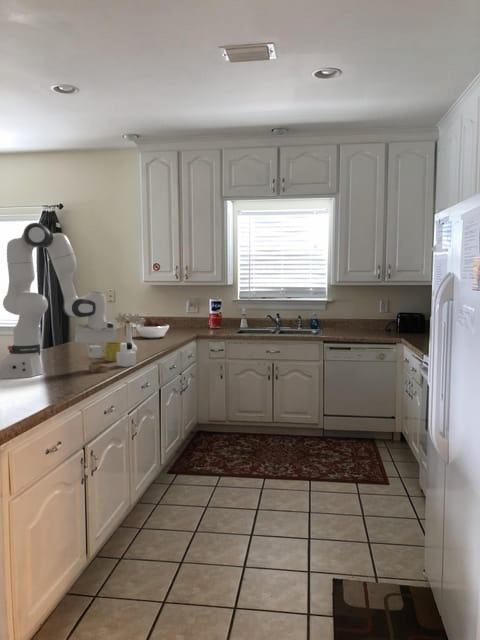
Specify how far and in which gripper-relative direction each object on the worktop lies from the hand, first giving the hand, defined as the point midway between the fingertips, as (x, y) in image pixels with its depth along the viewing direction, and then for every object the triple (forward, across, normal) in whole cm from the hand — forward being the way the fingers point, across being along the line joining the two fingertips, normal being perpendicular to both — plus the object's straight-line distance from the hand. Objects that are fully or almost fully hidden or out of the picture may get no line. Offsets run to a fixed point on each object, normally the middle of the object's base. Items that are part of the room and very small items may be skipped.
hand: (95, 351), depth 255 cm
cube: (+2, 0, +1) cm, 3 cm away
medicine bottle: (+8, +17, +3) cm, 19 cm away
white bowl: (+3, +73, +110) cm, 132 cm away
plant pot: (+8, +16, +22) cm, 28 cm away
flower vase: (+7, +31, +39) cm, 50 cm away
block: (+9, 0, -6) cm, 11 cm away
